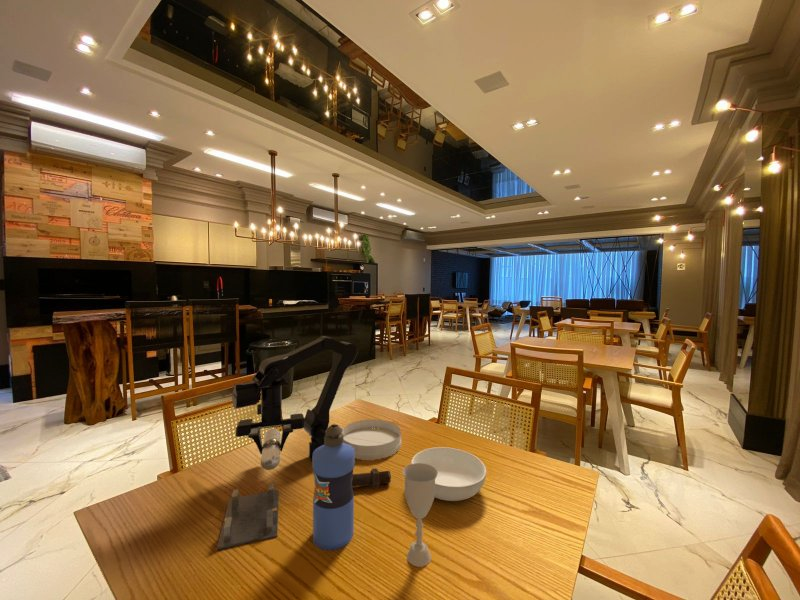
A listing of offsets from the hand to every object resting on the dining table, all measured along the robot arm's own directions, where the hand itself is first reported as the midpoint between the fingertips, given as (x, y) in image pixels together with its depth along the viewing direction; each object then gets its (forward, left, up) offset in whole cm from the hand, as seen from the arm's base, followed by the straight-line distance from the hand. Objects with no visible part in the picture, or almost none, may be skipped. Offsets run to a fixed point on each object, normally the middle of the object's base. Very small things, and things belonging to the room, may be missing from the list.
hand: (271, 452), depth 97 cm
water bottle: (-14, +31, -6) cm, 35 cm away
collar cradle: (+4, +19, -6) cm, 20 cm away
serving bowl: (-47, +24, -7) cm, 53 cm away
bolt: (-25, +16, -7) cm, 30 cm away
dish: (-33, -8, -7) cm, 35 cm away
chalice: (-30, +43, -6) cm, 53 cm away
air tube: (0, 0, -1) cm, 1 cm away
